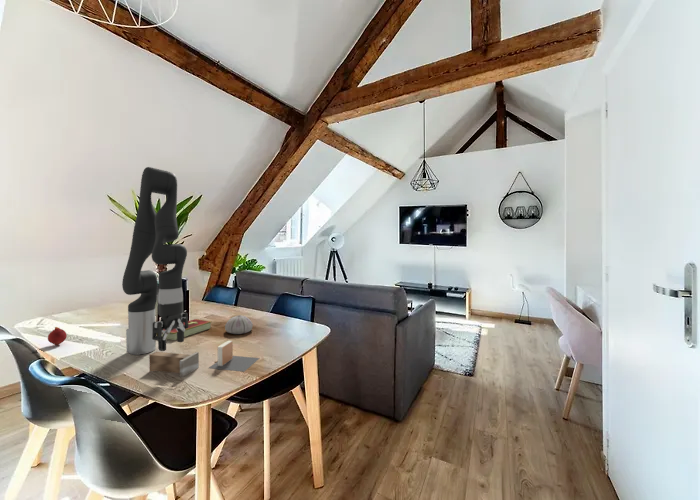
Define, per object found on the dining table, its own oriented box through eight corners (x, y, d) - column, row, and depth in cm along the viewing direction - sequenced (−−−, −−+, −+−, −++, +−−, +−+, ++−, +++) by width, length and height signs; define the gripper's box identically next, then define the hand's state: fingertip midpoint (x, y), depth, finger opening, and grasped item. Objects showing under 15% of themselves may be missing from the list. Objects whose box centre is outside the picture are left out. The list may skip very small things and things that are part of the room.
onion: (66, 341, 133) (66, 324, 133) (67, 345, 129) (66, 326, 128) (48, 345, 129) (47, 326, 129) (47, 348, 125) (47, 329, 124)
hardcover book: (156, 337, 142) (156, 328, 141) (195, 325, 161) (195, 318, 161) (174, 341, 137) (173, 332, 137) (211, 328, 156) (211, 320, 156)
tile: (217, 365, 110) (217, 346, 110) (228, 358, 117) (228, 340, 117) (222, 366, 110) (222, 347, 110) (232, 358, 117) (232, 340, 117)
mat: (208, 369, 108) (208, 368, 108) (227, 356, 120) (227, 355, 120) (244, 372, 106) (244, 371, 106) (259, 359, 118) (259, 358, 118)
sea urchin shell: (243, 326, 161) (243, 311, 161) (258, 331, 152) (258, 315, 152) (219, 331, 151) (219, 316, 150) (233, 337, 142) (233, 321, 142)
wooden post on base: (143, 374, 104) (143, 357, 103) (161, 364, 111) (161, 349, 111) (182, 378, 101) (182, 361, 101) (198, 368, 109) (198, 352, 109)
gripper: (175, 296, 113) (176, 339, 114) (144, 304, 99) (145, 353, 100) (194, 297, 112) (194, 340, 112) (164, 305, 98) (166, 354, 98)
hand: (171, 346), depth 106 cm, fingers open, 8 cm apart
